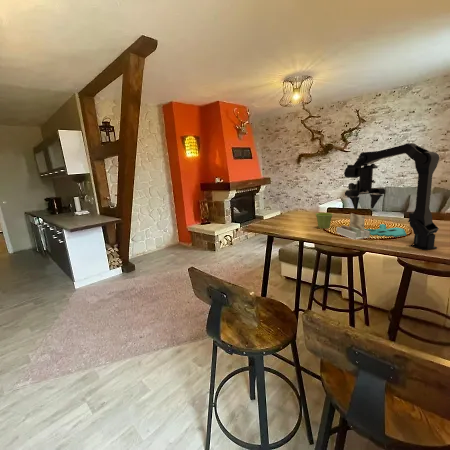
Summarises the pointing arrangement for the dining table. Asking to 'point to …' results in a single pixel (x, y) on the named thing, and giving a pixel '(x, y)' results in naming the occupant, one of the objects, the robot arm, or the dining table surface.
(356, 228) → the sage offcut
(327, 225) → the plant pot
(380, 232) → the alien figure
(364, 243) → the dining table surface
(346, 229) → the walnut offcut
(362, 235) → the board rack
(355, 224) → the birch sheet
